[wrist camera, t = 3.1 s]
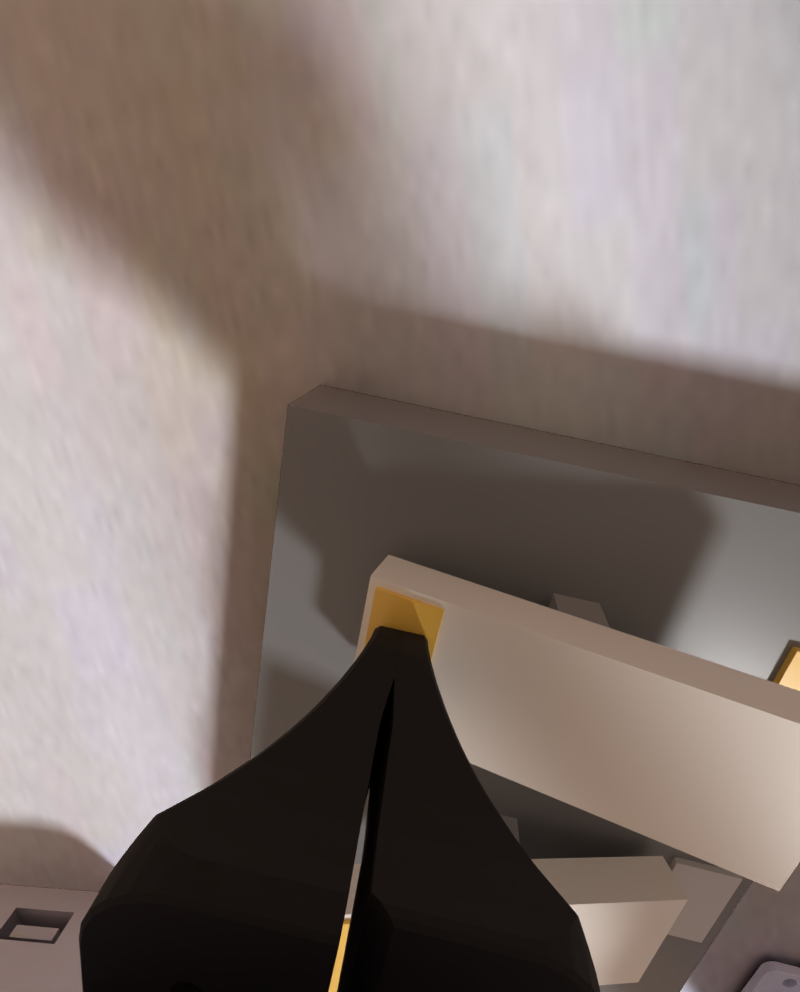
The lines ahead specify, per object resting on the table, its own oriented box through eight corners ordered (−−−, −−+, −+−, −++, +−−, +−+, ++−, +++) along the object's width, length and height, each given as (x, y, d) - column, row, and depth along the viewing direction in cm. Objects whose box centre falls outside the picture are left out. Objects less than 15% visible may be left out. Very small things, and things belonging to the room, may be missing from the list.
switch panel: (876, 501, 15) (1024, 575, 11) (586, 1015, 24) (609, 1153, 20) (320, 384, 15) (270, 415, 12) (250, 929, 25) (210, 1047, 21)
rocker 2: (662, 855, 16) (690, 903, 15) (618, 936, 17) (639, 986, 16) (326, 864, 14) (327, 920, 13) (308, 955, 15) (307, 1013, 14)
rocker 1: (848, 707, 11) (879, 754, 10) (761, 840, 12) (780, 896, 11) (388, 554, 13) (368, 577, 12) (363, 681, 14) (343, 713, 13)
